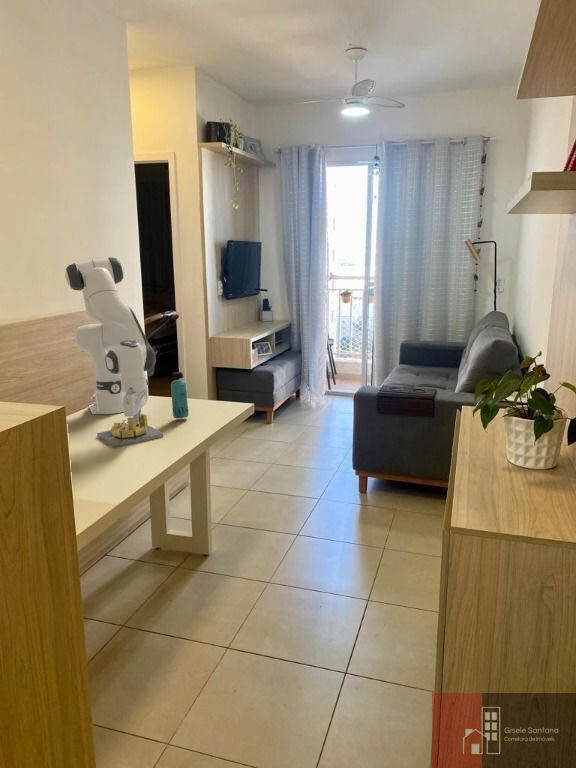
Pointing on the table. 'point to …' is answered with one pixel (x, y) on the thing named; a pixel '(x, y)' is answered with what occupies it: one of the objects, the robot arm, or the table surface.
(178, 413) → the beverage bottle
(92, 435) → the table surface
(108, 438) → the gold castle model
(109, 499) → the table surface
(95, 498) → the table surface
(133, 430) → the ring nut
